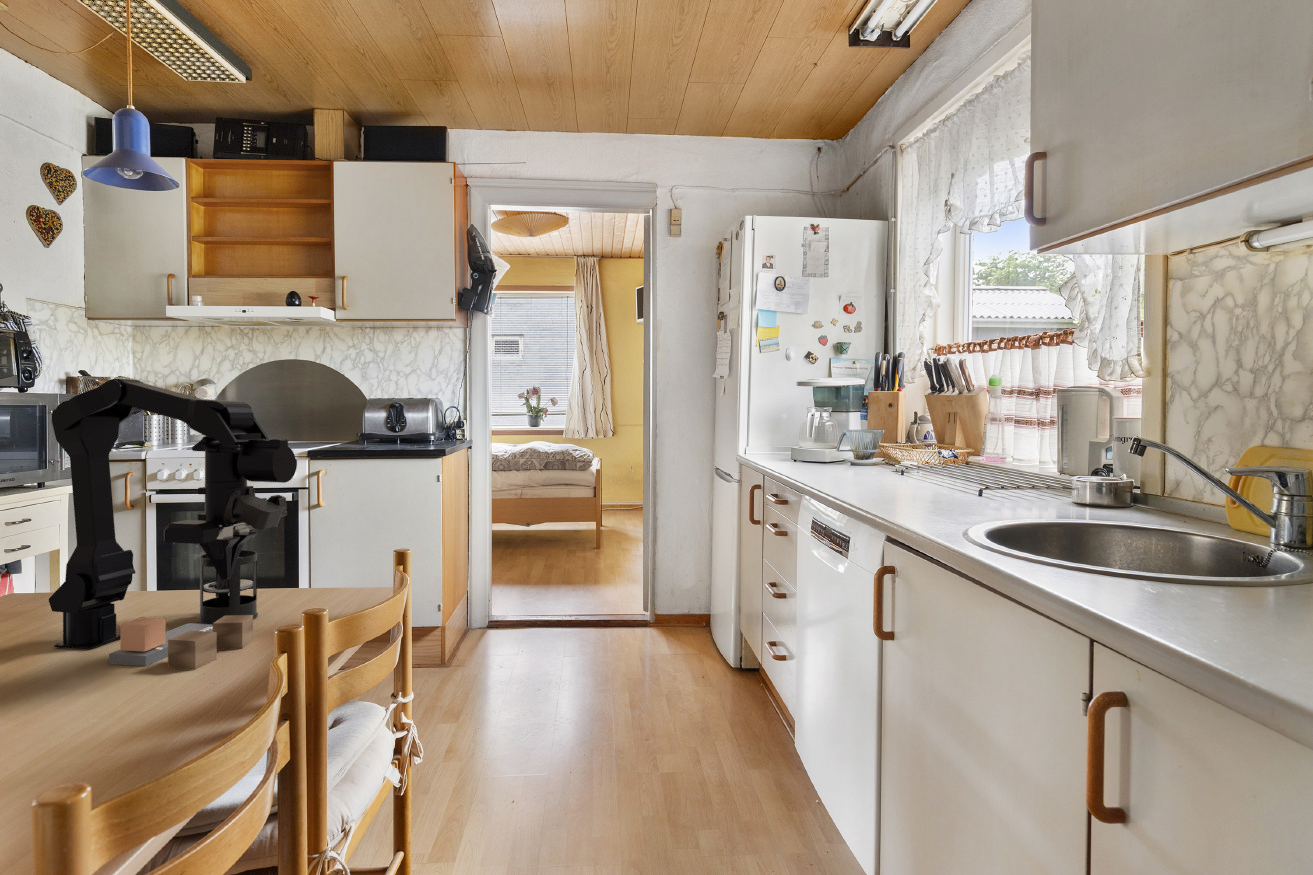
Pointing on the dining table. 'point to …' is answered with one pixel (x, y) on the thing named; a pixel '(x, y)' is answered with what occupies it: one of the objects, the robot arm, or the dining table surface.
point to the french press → (229, 590)
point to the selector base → (157, 652)
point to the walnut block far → (234, 631)
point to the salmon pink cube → (143, 633)
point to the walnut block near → (192, 650)
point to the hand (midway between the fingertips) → (225, 578)
